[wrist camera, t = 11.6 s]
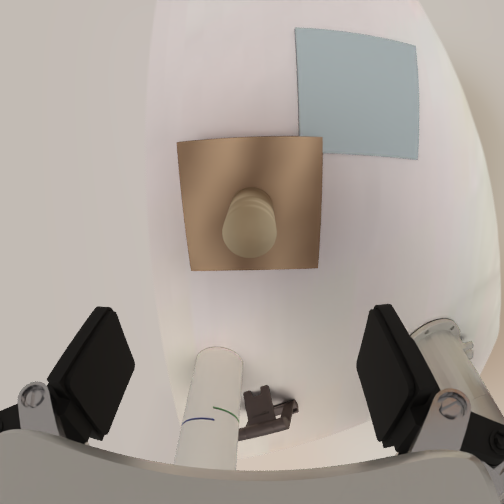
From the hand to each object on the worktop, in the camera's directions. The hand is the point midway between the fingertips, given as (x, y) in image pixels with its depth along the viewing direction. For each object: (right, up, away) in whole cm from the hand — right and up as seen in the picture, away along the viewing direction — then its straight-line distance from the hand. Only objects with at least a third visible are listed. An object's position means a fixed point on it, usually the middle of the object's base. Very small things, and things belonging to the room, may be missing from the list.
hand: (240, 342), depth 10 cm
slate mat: (+12, +20, +16) cm, 28 cm away
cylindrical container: (-5, -14, +32) cm, 35 cm away
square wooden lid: (0, +7, +15) cm, 17 cm away
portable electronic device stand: (+3, -23, +36) cm, 43 cm away
